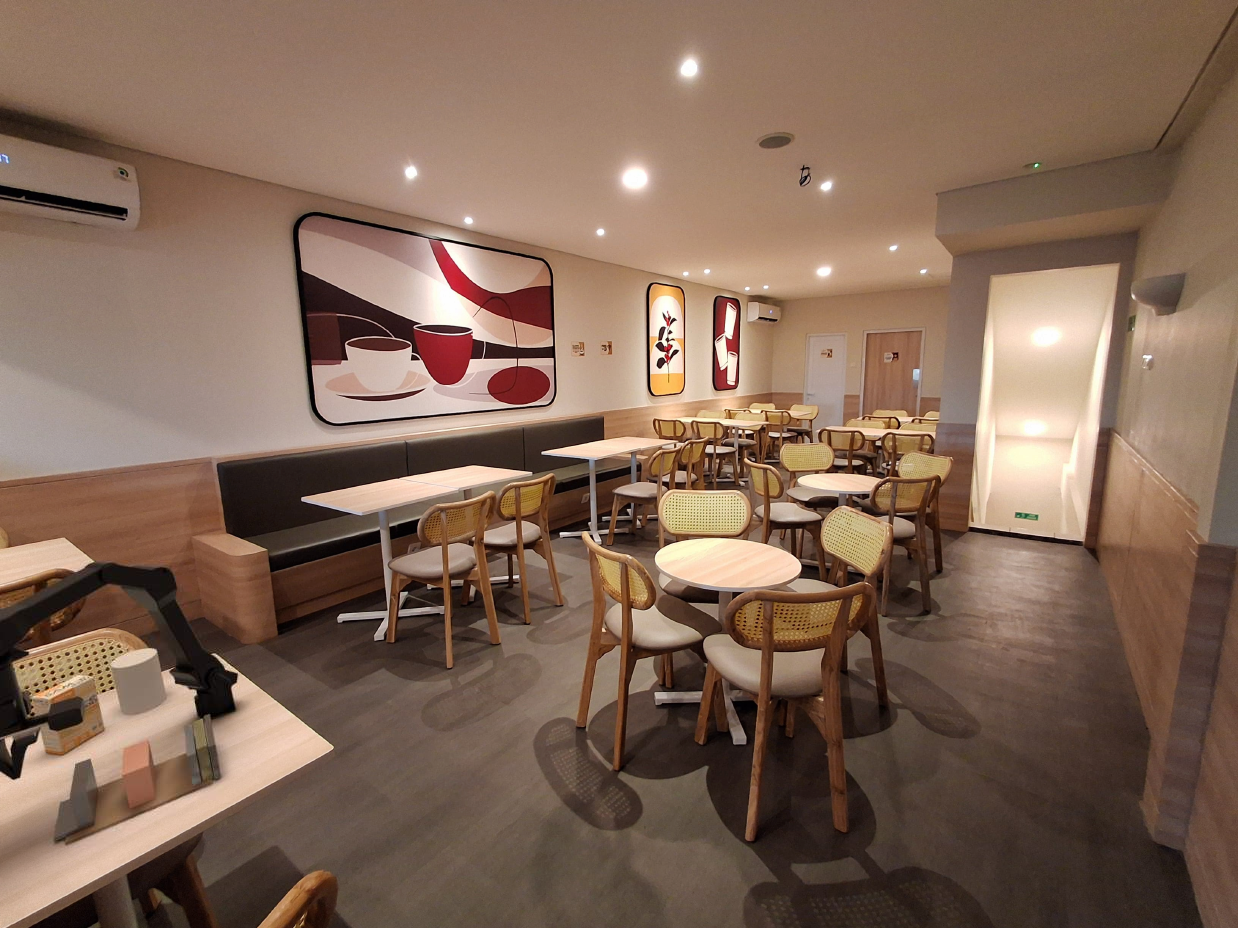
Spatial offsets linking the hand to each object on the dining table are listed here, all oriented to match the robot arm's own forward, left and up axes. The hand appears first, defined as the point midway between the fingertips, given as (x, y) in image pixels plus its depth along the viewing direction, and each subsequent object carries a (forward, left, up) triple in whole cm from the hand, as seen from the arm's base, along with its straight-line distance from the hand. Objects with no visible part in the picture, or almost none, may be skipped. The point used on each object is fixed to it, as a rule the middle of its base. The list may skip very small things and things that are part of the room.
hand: (17, 777), depth 91 cm
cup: (-14, -35, -12) cm, 40 cm away
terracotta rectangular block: (-14, 0, -11) cm, 18 cm away
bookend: (-5, 0, -11) cm, 12 cm away
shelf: (-15, 0, -12) cm, 19 cm away
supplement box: (-3, -28, -12) cm, 31 cm away
